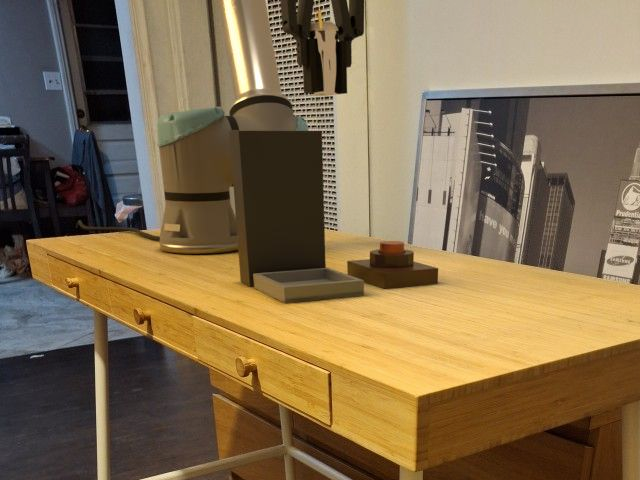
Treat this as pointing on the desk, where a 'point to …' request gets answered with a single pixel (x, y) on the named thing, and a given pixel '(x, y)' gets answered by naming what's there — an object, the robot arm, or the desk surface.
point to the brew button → (392, 247)
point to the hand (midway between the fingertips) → (325, 92)
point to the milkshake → (325, 56)
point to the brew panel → (392, 270)
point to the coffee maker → (283, 216)
